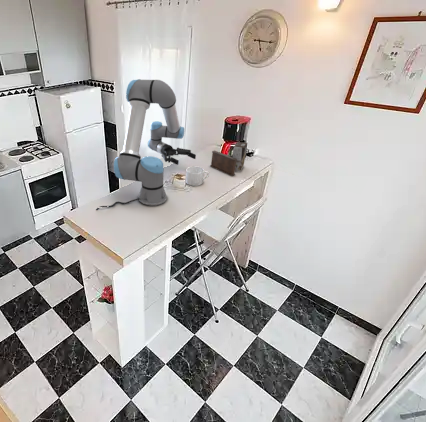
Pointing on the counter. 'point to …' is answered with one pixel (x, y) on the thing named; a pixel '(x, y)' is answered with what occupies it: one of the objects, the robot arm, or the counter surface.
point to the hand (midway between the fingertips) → (186, 159)
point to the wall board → (223, 163)
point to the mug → (195, 175)
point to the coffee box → (239, 155)
